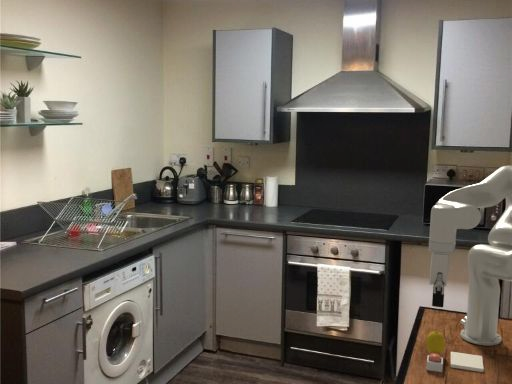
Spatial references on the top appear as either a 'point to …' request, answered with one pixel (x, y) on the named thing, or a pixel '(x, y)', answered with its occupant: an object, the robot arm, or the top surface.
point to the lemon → (435, 342)
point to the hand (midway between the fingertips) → (437, 301)
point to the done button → (435, 358)
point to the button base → (434, 365)
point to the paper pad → (467, 361)
